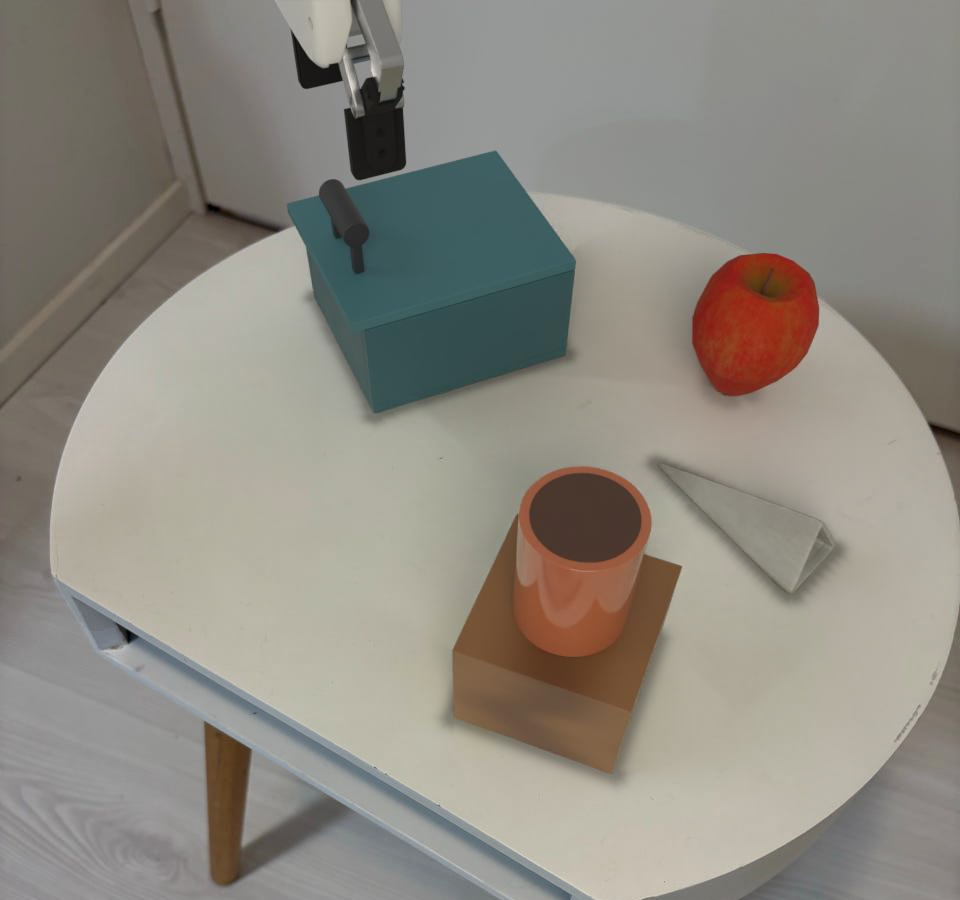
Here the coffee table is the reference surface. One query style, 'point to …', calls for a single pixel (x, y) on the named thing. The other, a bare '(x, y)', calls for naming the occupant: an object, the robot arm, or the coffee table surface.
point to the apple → (754, 322)
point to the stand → (556, 669)
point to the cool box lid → (427, 239)
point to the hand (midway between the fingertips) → (350, 125)
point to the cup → (578, 559)
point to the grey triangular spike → (761, 528)
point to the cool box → (453, 340)
